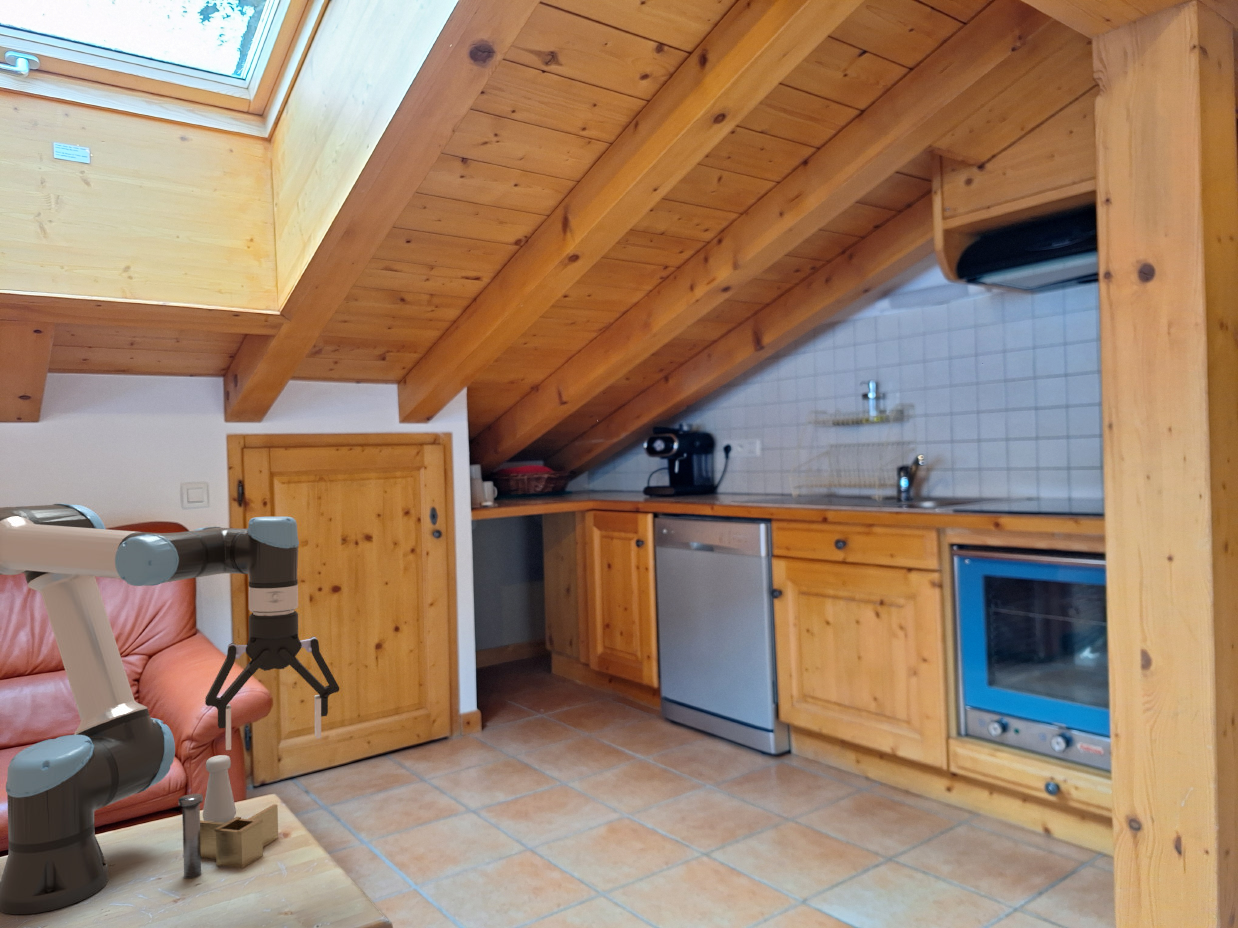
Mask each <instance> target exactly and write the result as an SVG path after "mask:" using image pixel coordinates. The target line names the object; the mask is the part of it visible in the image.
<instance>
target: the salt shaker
mask: <svg viewBox="0 0 1238 928" xmlns="http://www.w3.org/2000/svg"><path fill="white" fill-rule="evenodd" d="M231 764H232V761H231V758H230V756H229V755H226V754H221V755H215V756H211V757H209V758H208V759H207V760H206V763H205V769H206V771H207V772H209V775H208V779H207V784H206V785H207V787H206V792H205V798H204V803H203V809H202V819H203V821H212V822H223V823H226V822H228V821H230V820H232V819H234V818H235V817H236V814H237V808H236V804H235V799H234V795H233V789H232V785H231V781H230V776H229V769H230V768H231Z"/></svg>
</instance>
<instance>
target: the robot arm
mask: <svg viewBox="0 0 1238 928" xmlns="http://www.w3.org/2000/svg"><path fill="white" fill-rule="evenodd" d="M299 545H300V541H299V532H298V524H297V520H296V519H295V518H294V517H291V516H283V515H282V516H274V515H273V516H256V517H252V518H250V520H249V521H248V527H247V528H238V527H237V528H235V527H221V526H208V527H207V526H206V527H199V528H196V529H194V530H189V531H188V530H187V531H181V532H180V531H179V532H162V533H161V532H150V531H149V532H147V531H146V532H145V531H134V530H133V531H131V530H118V529H107V528H106V526H105V524H104V522H103V520H102V518H100V516H99V515H98V514H97V513H96V512H95V511H93V510H92V509H90V508H88V507H86V506H84V505H80V504H69V503H54V504H44V505H42V504H41V505H28V506H26V505H24V506H3V507H0V576H1V575H2V576H3V575H5V576H14V575H19V574H23V575H24V577H25V580H26V583H27V587H28V588H29V589H32V590H34V591H36V592H38V593H40V594H41V596H42V600H43V603H44V607H45V610H46V613H47V616H48V619H49V623H50V625H51V629H52V632H53V635H54V638H55V641H56V645H57V648H58V651H59V654H60V658H61V661H62V664H63V667H64V670H65V674H66V677H67V680H68V684H69V686H70V690H71V693H72V696H73V699H74V702H75V706H76V708H77V713H78V715H79V719H80V722H79V724H78V727H77V728H76V730H75V732H74V733H73V734H68V735H61V736H58V737H56V738H48V739H45V740H42V741H39V742H37V743H34V744H32V745H30V746H28V747H25V748H24V749H22V750H21V751H19V752H18V753H17V754H15V755H14V756H13V757H12V758H11V760H10V762H9V764H8V767H7V773H6V774H7V776H6V777H7V778H6V784H5V792H6V795H7V797H6V798H7V831H8V833H7V834H8V835H7V836H8V838H7V839H8V855H7V858H6V861H5V865H4V868H3V872H2V874H1V880H0V912H2V913H5V914H9V915H30V914H31V915H33V914H38V913H44V912H49V911H53V910H58V909H61V908H65V907H67V906H70V905H73V904H76V903H78V902H81V901H83V900H86V899H87V898H89V897H92V896H93V895H95V894H96V893H98V892H99V891H100V890H102V889H103V888H104V887H105V886H106V885H107V883H108V881H109V865H108V862H107V861H106V859H105V857H104V853H103V852H102V851H103V850H102V848H101V846H100V843H99V841H98V839H97V837H96V834H95V831H96V830H95V812H96V811H97V810H100V809H102V808H104V807H107V806H110V805H112V804H115V803H116V802H118V801H121V800H124V799H127V798H129V797H131V796H133V795H137V794H139V793H142V792H145V791H146V790H148V789H149V788H151V787H153V786H155V785H157V784H158V783H160V782H161V781H162V780H164V778H165V777H166V776H167V775H168V773H169V772H170V770H171V766H172V765H173V763H174V760H175V754H176V746H175V738H174V735H173V732H172V730H171V728H170V727H169V726H168V725H167V724H166V723H164V721H163V720H161V719H159V718H155V717H151V715H150V711H149V708H148V706H145V705H143V704H141V703H138V702H137V701H136V700H135V698H134V694H133V691H132V688H131V684H130V682H129V678H128V675H127V672H126V670H125V666H124V663H123V660H122V656H121V653H120V650H119V647H118V645H117V642H116V637H115V635H114V631H113V628H112V626H111V622H110V620H109V616H108V614H107V613H108V612H107V610H106V607H105V603H104V600H103V598H102V594H101V591H100V588H99V585H98V582H97V579H96V577H99V578H108V579H118V580H123V581H124V582H126V583H127V585H130V586H134V587H142V586H143V587H144V586H145V587H148V586H149V587H150V586H151V587H152V586H158V585H160V584H165V583H171V582H176V581H182V580H189V579H195V578H203V577H209V576H214V575H220V574H222V575H223V574H235V575H236V574H238V575H239V574H240V575H241V574H242V575H248V610H249V611H250V612H252V613H250V615H249V616H248V641H247V643H246V644H236V643H234V642H231V643H229V644H228V646H227V651H226V658H225V659H224V661H223V664H222V665H221V667H220V669H219V672H217V675H216V677H215V679H214V681H213V682H212V685H211V686H210V688H209V690H208V692H207V694H206V695H205V699H204V700H205V701H204V702H205V703H204V704H205V706H207V707H215V708H216V709H217V727H218V729H225V750H226V751H230V750H232V706H231V704H229V703H230V702H231V701H232V700H233V699H234V697H235V696H236V695H237V694H238V693H239V691H240V690H241V689H242V688H243V686H244V685H245V684H246V683H247V682H248V681H249V680H250V678H251V677H252V676H253V675H254V674H255V673H256V672H257V671H258V670H259V669H260V670H262V671H264V672H265V671H270V670H274V669H275V670H284V669H286V668H287V667H289V666H290V667H291V668H292V669H293V670H294V671H295V672H297V674H298V675H300V676H301V678H302V679H304V681H305V682H306V683H307V684H308V685H309V686H310V687H312V689H313V690H314V691H315V692H316V693H317V694H315V695H314V736H315V738H316V740H317V739H322V717H327V716H328V714H329V696H330V695H332V694H336V693H338V692H339V691H340V686H339V684H338V683H337V680H336V678H335V677H334V676H333V673H332V672H331V670H330V668H329V666H328V664H327V662H326V660H325V659H324V657H323V655H322V654H321V652H320V644H319V640H318V639H317V636H311V637H309V638H307V639H302V640H300V638H299V613H298V612H297V611H296V609H298V608H299V583H298V582H299V581H298V567H299V562H298V561H299ZM302 648H304V649H305V651H306V652H307V653H311V654H312V656H313V658H314V659H313V660H314V661H315V662H316V664H317V666H318V668H319V670H320V671H321V673H322V675H323V676H324V679H325V680H326V682H327V684H328V685H326V686H324V685H323V684H322V682H320V680H318V679H317V678H316V677H315V675H313V674H312V673H311V671H310V670H309V669H308V668H307V667H306V666H304V665H303V663H302V662H301V661H300V660H299V659H298V657H297V655H298V653H299V652H300V650H301V649H302ZM245 653H246V655H248V657H249V658H250V661H249V662H248V663H247V664H246V666H245V667H244V669H243V670H242V671H241V672H240V673H239V674H238V675H237V677H236V678H235V679H234V681H233V682H232V683H231V684H230V686H228V687H227V689H226V690H225V691H224V692H223V694H222V695H221V696H220V697H218V695H219V693H220V691H221V690H222V687H223V685H224V684H225V681H226V680H227V677H228V676H229V674H230V672H231V670H232V669H233V666H234V664H235V661H236V660H238V659H240V658H241V656H242V655H243V654H245Z"/></svg>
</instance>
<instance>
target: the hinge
mask: <svg viewBox="0 0 1238 928" xmlns="http://www.w3.org/2000/svg"><path fill="white" fill-rule="evenodd" d="M278 807H279V806H278V803H277V804H276V803H274V804H271V805H270V806H268V807H266V808H264V809H263V810H261V811H258V812H257V813H255V814H254V815H252V816H250V817H248V818H242V816H235V817H234V819H232V820H230V821H228V822H226V823H223V822H212V821H204V820H201V819H200V840H201V858H206V859H215V860H216V861H215V862H216V866H217V867H218V866H219V867H227V868H236V869H244V868H245V867H247V866H248V865H250V864H251V863H253V862H255V861H256V860H258V859H259V858H261V857H263V855H264V847H266V846H267V845H269V844H270V843H272V842H273V841H275V840H277V839H279V817H278V816H279V814H278Z"/></svg>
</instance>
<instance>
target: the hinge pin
mask: <svg viewBox="0 0 1238 928" xmlns="http://www.w3.org/2000/svg"><path fill="white" fill-rule="evenodd" d="M203 799H204V797H203V794H202V793H190V794H186V795H184V796H181V797H179V798H178V806H179V807H181V811H182V812H181V814H182V817H181V818H182V849H183V850H182V851H183V854H182V855H183V878H184V879H195V878H198V877H199V876H201V875H202V857H201V840H200V820H201V816H200V815H201V814H200V813H201V809H200V805H201V803H203Z"/></svg>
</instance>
